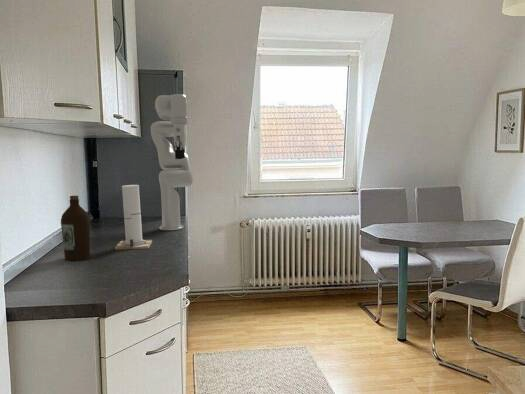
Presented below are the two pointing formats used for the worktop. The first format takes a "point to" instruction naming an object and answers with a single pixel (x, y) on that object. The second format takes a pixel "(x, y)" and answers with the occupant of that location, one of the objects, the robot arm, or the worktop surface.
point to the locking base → (133, 245)
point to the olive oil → (76, 231)
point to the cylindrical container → (132, 213)
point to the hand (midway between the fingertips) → (180, 158)
